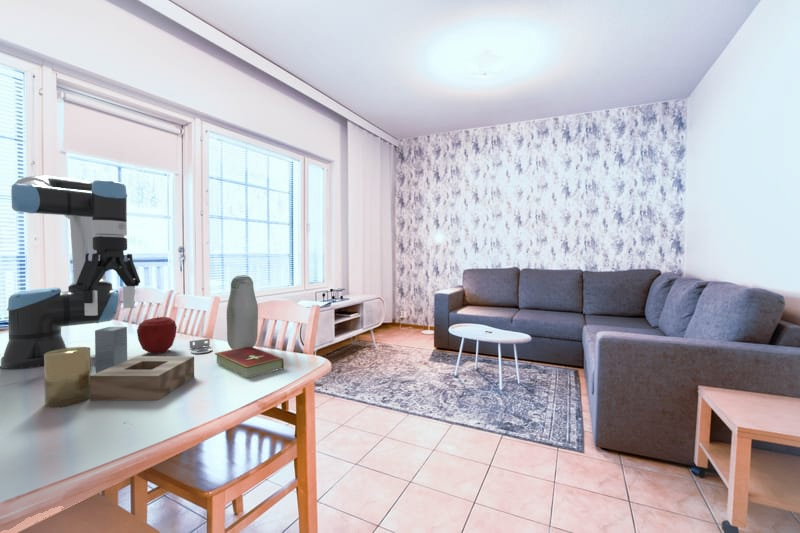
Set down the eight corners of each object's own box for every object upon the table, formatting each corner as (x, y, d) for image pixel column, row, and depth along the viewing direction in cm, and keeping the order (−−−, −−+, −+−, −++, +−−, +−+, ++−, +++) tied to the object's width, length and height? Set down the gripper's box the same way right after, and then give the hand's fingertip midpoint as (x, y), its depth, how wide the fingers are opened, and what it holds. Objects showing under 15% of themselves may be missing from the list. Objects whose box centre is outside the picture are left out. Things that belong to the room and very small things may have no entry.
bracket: (192, 356, 121) (192, 346, 121) (189, 350, 130) (189, 340, 129) (213, 353, 125) (213, 344, 125) (209, 347, 133) (209, 338, 133)
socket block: (137, 376, 100) (137, 356, 100) (194, 376, 101) (194, 356, 100) (90, 400, 84) (89, 375, 84) (158, 400, 85) (158, 375, 85)
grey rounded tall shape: (235, 347, 133) (235, 274, 132) (261, 347, 133) (262, 274, 132) (221, 354, 123) (221, 275, 122) (249, 355, 123) (250, 276, 122)
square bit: (109, 374, 102) (109, 326, 101) (127, 374, 102) (126, 326, 102) (95, 380, 97) (94, 330, 96) (114, 380, 97) (113, 330, 97)
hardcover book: (250, 357, 122) (250, 345, 122) (283, 370, 109) (283, 357, 109) (214, 364, 113) (214, 352, 113) (246, 380, 100) (246, 366, 100)
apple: (157, 347, 131) (156, 312, 131) (185, 348, 130) (184, 313, 129) (128, 356, 119) (127, 317, 119) (158, 358, 118) (158, 319, 117)
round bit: (66, 393, 88) (65, 346, 87) (99, 393, 88) (98, 346, 88) (34, 407, 80) (33, 356, 79) (71, 407, 80) (70, 356, 80)
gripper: (86, 233, 86) (87, 319, 86) (153, 238, 111) (153, 305, 111) (54, 233, 86) (56, 319, 86) (128, 238, 110) (129, 305, 111)
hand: (111, 311), depth 99 cm, fingers open, 13 cm apart
